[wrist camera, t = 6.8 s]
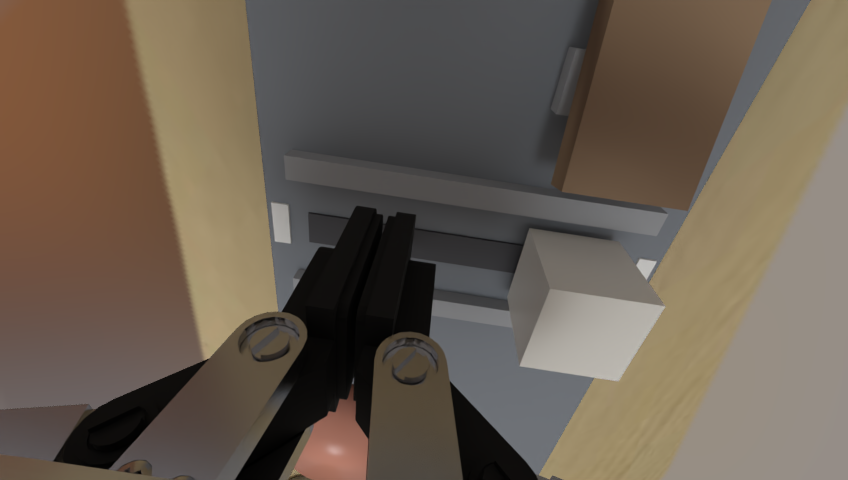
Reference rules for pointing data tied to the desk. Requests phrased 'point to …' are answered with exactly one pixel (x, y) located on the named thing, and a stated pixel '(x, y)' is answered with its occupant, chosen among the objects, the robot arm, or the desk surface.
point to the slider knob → (579, 305)
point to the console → (453, 162)
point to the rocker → (654, 97)
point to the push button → (336, 446)
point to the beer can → (300, 478)
